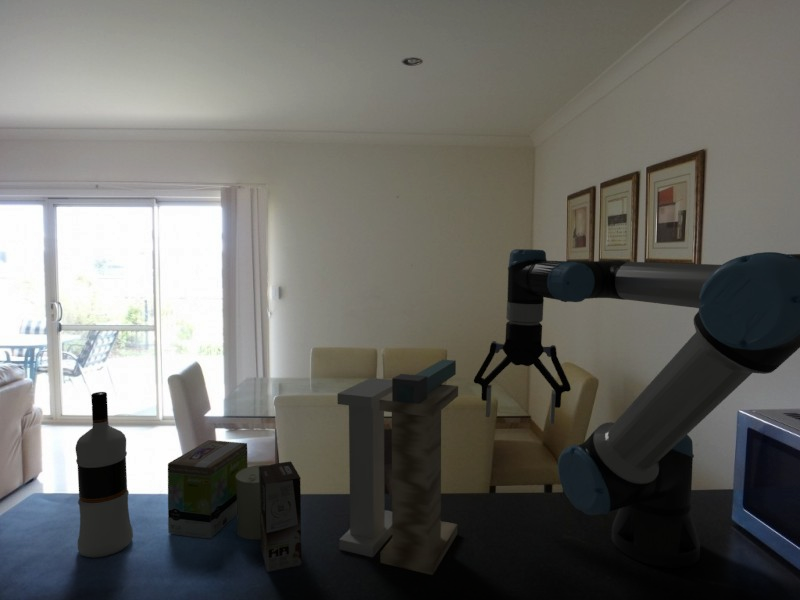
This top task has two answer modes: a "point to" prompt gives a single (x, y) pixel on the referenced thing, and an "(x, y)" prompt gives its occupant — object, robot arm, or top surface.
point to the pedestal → (417, 483)
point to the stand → (366, 468)
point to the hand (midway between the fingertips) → (519, 418)
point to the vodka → (102, 486)
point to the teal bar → (421, 382)
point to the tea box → (204, 488)
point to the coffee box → (280, 515)
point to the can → (248, 503)
